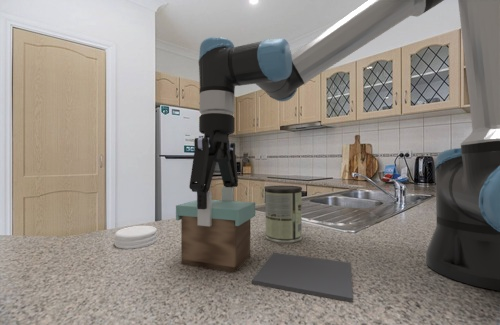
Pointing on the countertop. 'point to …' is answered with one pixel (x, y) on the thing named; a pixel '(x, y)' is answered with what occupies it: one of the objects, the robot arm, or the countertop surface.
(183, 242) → the box
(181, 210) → the lid
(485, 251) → the robot arm
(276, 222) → the coffee can
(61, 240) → the countertop surface
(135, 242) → the coaster
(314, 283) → the mat
